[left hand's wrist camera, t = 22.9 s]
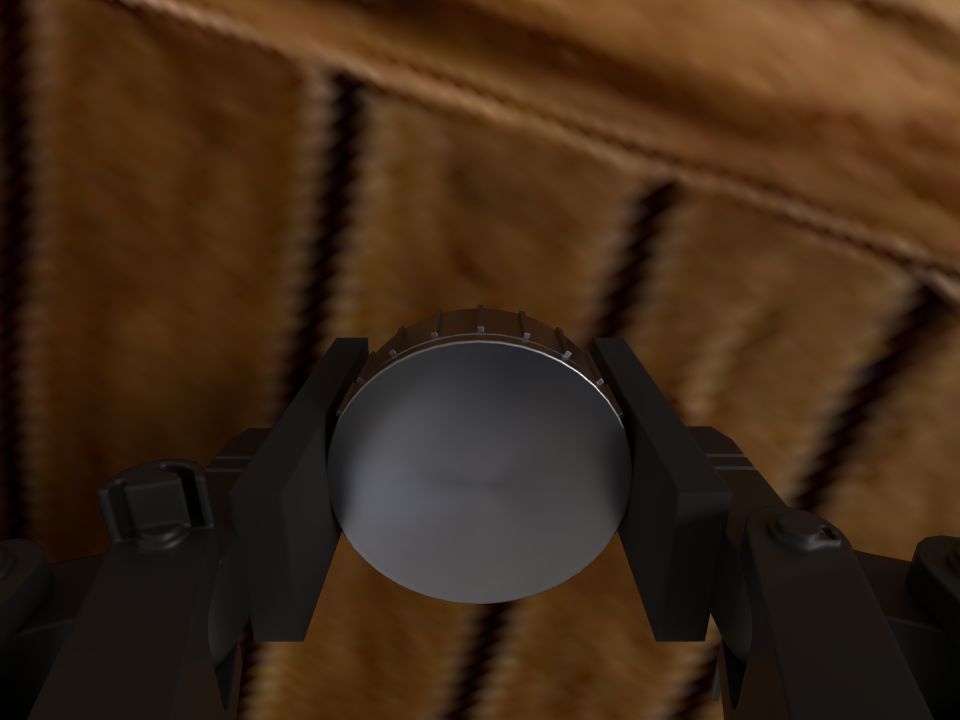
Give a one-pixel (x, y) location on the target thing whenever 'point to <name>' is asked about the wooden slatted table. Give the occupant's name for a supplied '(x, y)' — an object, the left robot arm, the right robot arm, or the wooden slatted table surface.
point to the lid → (479, 458)
